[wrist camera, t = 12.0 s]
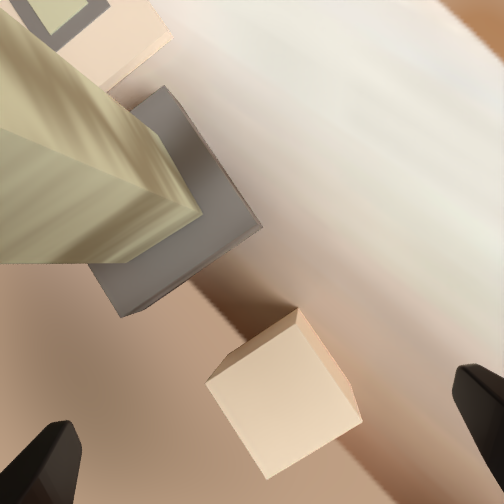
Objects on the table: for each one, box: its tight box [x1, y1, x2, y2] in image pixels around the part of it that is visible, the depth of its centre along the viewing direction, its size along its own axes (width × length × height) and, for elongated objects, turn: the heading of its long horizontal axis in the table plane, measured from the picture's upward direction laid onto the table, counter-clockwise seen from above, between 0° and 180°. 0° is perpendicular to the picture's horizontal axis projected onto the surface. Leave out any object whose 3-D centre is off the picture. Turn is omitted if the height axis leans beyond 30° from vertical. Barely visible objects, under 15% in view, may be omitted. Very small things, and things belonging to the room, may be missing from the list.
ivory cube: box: [205, 308, 363, 480], centre depth 19 cm, size 5×5×5 cm
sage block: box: [0, 8, 203, 264], centre depth 13 cm, size 5×5×13 cm
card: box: [0, 0, 174, 93], centre depth 23 cm, size 12×9×1 cm
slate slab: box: [87, 85, 263, 318], centre depth 21 cm, size 9×9×3 cm
